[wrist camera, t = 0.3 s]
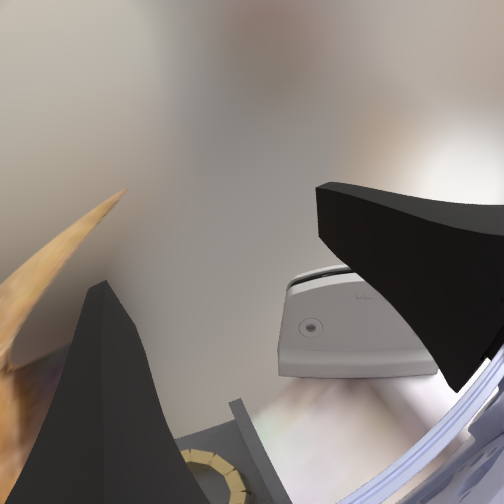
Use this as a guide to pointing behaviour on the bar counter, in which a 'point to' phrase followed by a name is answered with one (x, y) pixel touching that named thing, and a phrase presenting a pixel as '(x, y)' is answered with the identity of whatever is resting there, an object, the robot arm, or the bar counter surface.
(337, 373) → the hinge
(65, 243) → the bar counter surface
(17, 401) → the bar counter surface
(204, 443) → the cup bracket
